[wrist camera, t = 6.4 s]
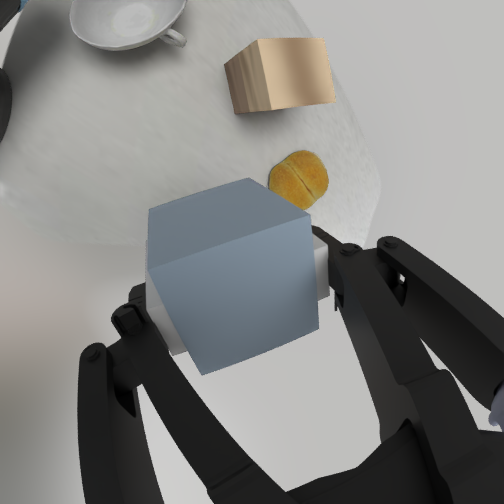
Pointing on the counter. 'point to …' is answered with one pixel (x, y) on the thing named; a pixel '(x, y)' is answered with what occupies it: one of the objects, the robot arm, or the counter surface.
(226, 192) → the slate block
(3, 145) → the counter surface
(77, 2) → the teacup
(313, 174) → the bread roll
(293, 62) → the tower mid
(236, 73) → the tower base
